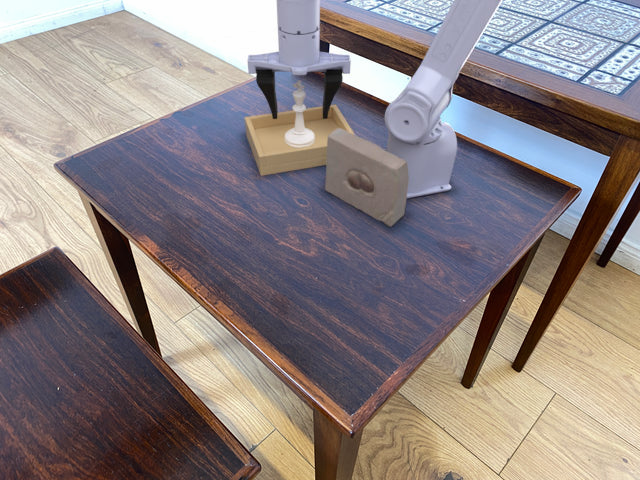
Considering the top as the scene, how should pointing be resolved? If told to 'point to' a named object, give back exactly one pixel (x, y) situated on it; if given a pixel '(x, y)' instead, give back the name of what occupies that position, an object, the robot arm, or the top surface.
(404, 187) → the fossil
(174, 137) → the top surface
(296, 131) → the chess piece
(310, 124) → the wooden tray
